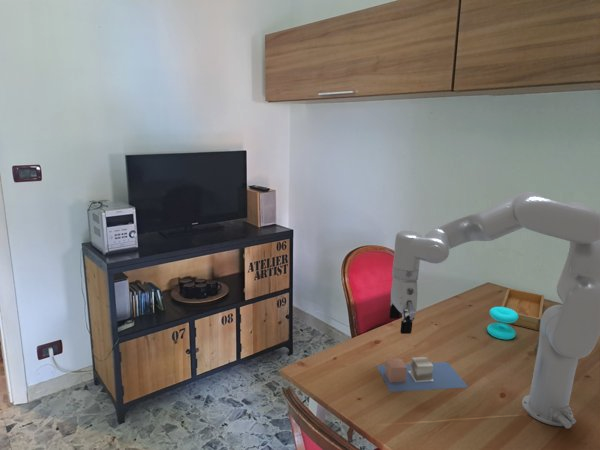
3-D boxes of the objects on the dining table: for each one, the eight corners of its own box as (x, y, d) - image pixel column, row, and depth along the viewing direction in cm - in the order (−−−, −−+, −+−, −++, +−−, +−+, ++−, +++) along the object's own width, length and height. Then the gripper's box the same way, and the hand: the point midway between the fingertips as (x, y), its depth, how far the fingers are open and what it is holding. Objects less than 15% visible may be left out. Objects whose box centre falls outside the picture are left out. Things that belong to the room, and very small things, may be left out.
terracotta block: (405, 381, 130) (407, 367, 129) (390, 382, 130) (391, 368, 129) (399, 372, 135) (401, 358, 134) (384, 373, 135) (386, 359, 133)
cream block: (431, 380, 131) (433, 365, 130) (416, 380, 131) (418, 366, 130) (425, 370, 136) (426, 357, 135) (410, 371, 136) (411, 357, 134)
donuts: (489, 303, 167) (516, 307, 164) (485, 326, 170) (512, 331, 167) (491, 314, 158) (520, 318, 155) (487, 338, 161) (516, 343, 157)
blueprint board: (468, 389, 129) (468, 386, 128) (390, 393, 125) (390, 391, 125) (447, 363, 142) (447, 361, 142) (376, 367, 139) (376, 365, 139)
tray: (506, 298, 200) (508, 287, 199) (542, 306, 193) (544, 294, 191) (497, 322, 175) (499, 309, 173) (539, 332, 167) (541, 319, 166)
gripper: (429, 283, 117) (423, 339, 121) (406, 263, 133) (401, 312, 137) (403, 283, 116) (398, 340, 120) (383, 263, 132) (379, 313, 136)
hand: (399, 325), depth 128 cm, fingers open, 9 cm apart
